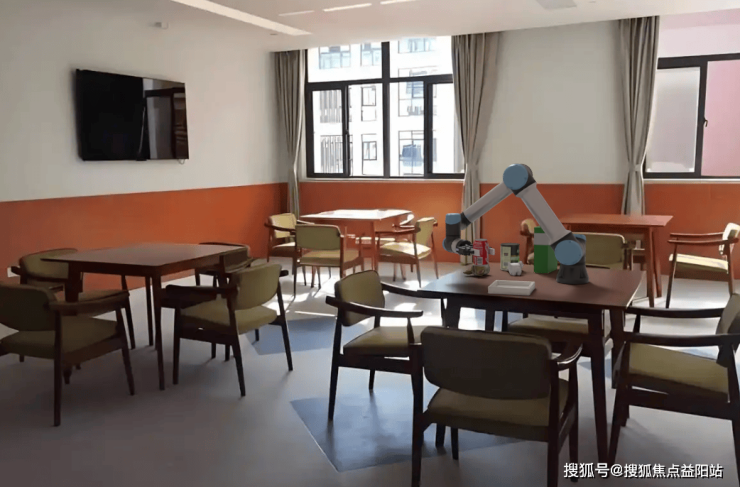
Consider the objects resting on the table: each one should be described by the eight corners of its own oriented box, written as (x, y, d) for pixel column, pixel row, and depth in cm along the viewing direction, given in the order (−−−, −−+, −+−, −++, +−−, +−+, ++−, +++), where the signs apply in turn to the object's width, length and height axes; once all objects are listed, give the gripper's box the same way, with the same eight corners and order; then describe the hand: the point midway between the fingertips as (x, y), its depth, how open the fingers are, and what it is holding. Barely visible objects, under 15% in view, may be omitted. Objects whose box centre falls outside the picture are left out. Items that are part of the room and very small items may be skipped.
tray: (534, 288, 304) (534, 281, 304) (529, 295, 287) (529, 288, 287) (495, 286, 310) (495, 279, 310) (488, 293, 294) (488, 286, 293)
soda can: (486, 264, 306) (486, 238, 304) (490, 266, 299) (490, 239, 297) (471, 264, 305) (471, 238, 303) (475, 266, 298) (475, 240, 297)
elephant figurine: (516, 272, 348) (516, 259, 347) (525, 275, 339) (525, 261, 338) (503, 273, 346) (503, 260, 345) (511, 276, 337) (512, 262, 336)
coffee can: (519, 268, 363) (519, 242, 362) (519, 271, 353) (519, 244, 352) (500, 267, 365) (500, 242, 364) (500, 270, 355) (500, 244, 354)
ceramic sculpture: (495, 258, 342) (478, 263, 331) (496, 274, 343) (479, 280, 332) (478, 256, 349) (461, 261, 339) (479, 272, 350) (462, 278, 340)
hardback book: (543, 268, 362) (544, 224, 359) (557, 268, 358) (557, 224, 355) (533, 272, 347) (534, 227, 344) (547, 273, 343) (548, 227, 340)
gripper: (480, 253, 322) (505, 259, 300) (443, 256, 315) (466, 262, 293) (480, 238, 321) (505, 242, 299) (443, 240, 314) (466, 245, 293)
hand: (486, 252), depth 296 cm, fingers closed on soda can, 7 cm apart
